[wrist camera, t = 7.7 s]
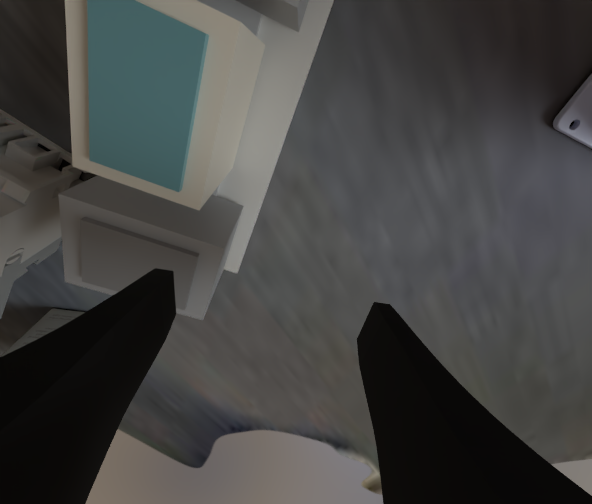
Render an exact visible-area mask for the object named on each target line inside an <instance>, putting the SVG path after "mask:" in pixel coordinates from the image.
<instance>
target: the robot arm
mask: <svg viewBox="0 0 592 504" xmlns="http://www.w3.org/2000/svg"><path fill="white" fill-rule="evenodd" d="M573 121H574V124H573V126H571V127H570V128H569V126H570V124H571V123H572V122H573ZM553 127H554V128H555V129H556V130H558V131H559V132H561V133H563V134H565V135H567V136H569V137H571V138H572V139H574V140H576V141H578V142H580V143H582V144H584V145H586V146H587V147H589V148H591V149H592V73H591V75H590V76H589V77H588V78H587V80H586V81H585V82H584V83H583V84H582V86H581V87H580V88H579V89H578V90H577V92H576V93H575V94H574V95H573V97H572V98H571V99H570V100H569V101H568V103H567V104H566V105H565V106H564V108H563V109H562V110H561V111H560V112H559V114H558V115H557V116H556V117H555V119H554V121H553ZM175 315H176V302H175V287H174V272H173V271H171V270H164V269H158V268H155V269H153V270H152V271H150V272H148V273H147V274H145V275H144V276H142V277H141V278H139V279H138V280H136V281H135V282H133V283H132V284H130V285H128V286H127V287H125V288H124V289H122V290H121V291H119V292H118V293H116V294H115V295H113V296H111V297H110V298H108V299H107V300H105V301H103V302H102V303H100V304H99V305H97V306H95V307H94V308H92V309H90V310H89V311H87V312H85V313H83V314H82V315H80V316H78V317H77V318H75V319H73V320H71V321H70V322H68V323H66V324H64V325H63V326H61V327H59V328H57V329H56V330H54V331H52V332H50V333H48V334H46V335H44V336H42V337H40V338H39V339H37V340H35V341H33V342H31V343H29V344H27V345H25V346H23V347H21V348H19V349H17V350H15V351H13V352H10V353H8V354H6V355H4V356H2V357H0V504H85V503H86V500H87V498H88V495H89V493H90V490H91V488H92V486H93V484H94V481H95V479H96V477H97V474H98V472H99V470H100V467H101V465H102V462H103V460H104V458H105V456H106V453H107V451H108V449H109V447H110V444H111V442H112V440H113V438H114V435H115V433H116V431H117V429H118V427H119V424H120V422H121V420H122V418H123V416H124V414H125V412H126V410H127V408H128V406H129V404H130V402H131V401H132V399H133V397H134V395H135V393H136V392H137V390H138V388H139V386H140V385H141V383H142V381H143V379H144V377H145V376H146V374H147V372H148V370H149V369H150V367H151V365H152V363H153V362H154V360H155V358H156V356H157V354H158V353H159V351H160V349H161V347H162V345H163V343H164V342H165V340H166V337H167V335H168V333H169V330H170V328H171V325H172V323H173V320H174V318H175ZM357 344H358V356H359V366H360V371H361V375H362V380H363V385H364V389H365V394H366V398H367V403H368V407H369V412H370V416H371V420H372V425H373V429H374V435H375V440H376V446H377V453H378V461H379V468H380V476H381V485H382V494H383V503H384V504H592V496H591V495H590V494H588V493H587V492H586V491H584V490H583V489H582V488H581V487H579V486H578V485H576V484H575V483H574V482H573V481H571V480H570V479H569V478H567V477H566V476H565V475H564V474H562V473H561V472H560V471H558V470H557V469H556V468H555V467H553V466H552V465H551V464H550V463H548V462H547V461H546V460H545V459H543V458H542V457H541V456H540V455H538V454H537V453H536V452H535V451H534V450H532V449H531V448H530V447H529V446H528V445H526V444H525V443H524V442H523V441H522V440H521V439H519V438H518V437H517V436H516V435H515V434H513V433H512V432H511V431H510V430H509V429H508V428H506V427H505V426H504V425H503V424H502V423H501V422H500V421H499V420H497V419H496V418H495V417H494V416H493V415H492V414H491V413H490V412H489V411H488V410H487V409H486V408H485V407H483V406H482V405H481V404H480V403H479V402H478V401H477V400H476V399H475V398H474V397H473V396H472V395H471V394H470V393H469V392H468V391H467V390H466V389H465V388H464V387H463V386H462V385H461V384H460V383H459V382H458V381H457V380H456V379H455V378H454V377H453V376H452V375H451V374H450V373H449V372H448V371H447V370H446V368H445V367H444V366H443V365H442V364H441V363H440V362H439V361H438V360H437V359H436V358H435V356H434V355H433V354H432V353H431V352H430V351H429V350H428V348H427V347H426V346H425V345H424V344H423V343H422V341H421V340H420V339H419V338H418V337H417V336H416V334H415V333H414V332H413V331H412V330H411V328H410V327H409V326H408V325H407V324H406V322H405V321H404V320H403V319H402V318H401V317H400V315H399V314H398V313H397V312H396V311H395V310H394V308H393V307H392V306H391V305H390V304H384V303H377V302H374V303H373V305H372V308H371V310H370V312H369V314H368V316H367V318H366V321H365V323H364V325H363V327H362V329H361V332H360V334H359V336H358V338H357Z"/></svg>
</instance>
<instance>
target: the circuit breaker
mask: <svg viewBox="0 0 592 504" xmlns="http://www.w3.org/2000/svg"><path fill="white" fill-rule="evenodd" d="M8 125H9V126H8ZM26 136H27V137H26ZM38 143H40V144H42V145H43V146H45V147H46V148H48V149H50V150H51V151H49V152H47V151H45V150H43V149H42V148H40V147H39V146H38ZM63 159H64V160H66V161H67V162H69V163H70V164H71V165H69V166H66V167H64V168H63V169H62V172H61V171H59V167H60V165H61V163H62V160H63ZM82 171H83V172H84V173H88V172H87V171H84V170H81V169H78V168H75V167H73V166H72V154H71V153H69V152H68V151H66V150H65V149H63V148H61V147H60V146H58V145H57V144H55V143H53V142H52V141H50V140H49V139H47V138H46V137H44V136H42V135H41V134H39V133H38V132H36V131H35V130H33V129H31V128H30V127H28V126H27V125H25V124H23V123H22V122H20V121H19V120H17V119H16V118H14V117H12V116H11V115H9V114H8V113H6V112H5V111H3V110H1V109H0V319H1V317H2V314H3V311H4V308H5V306H6V303H7V300H8V297H9V294H10V291H11V288H12V285H13V282H14V281H15V280H16V279H18V278H19V277H21V276H22V275H23V274H25V273H26V272H27V271H28V270H27V269H26V267H28V266H29V265H31V264H32V263H33V264H35V265H37V264H39V263H40V262H42V261H43V260H44V259H46V258H47V257H49V256H50V255H52V254H53V253H54V252H56V251H57V250H58V248H59V245H60V243H61V240H62V235H61V221H60V208H59V193H61V192H63V191H66V190H68V189H70V188H72V187H74V186H76V185H78V184H80V183H82V182H83V181H82V180H80V179H79V177H80V175H81V172H82Z"/></svg>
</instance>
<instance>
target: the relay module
mask: <svg viewBox="0 0 592 504" xmlns="http://www.w3.org/2000/svg"><path fill="white" fill-rule="evenodd" d="M65 15H66V37H67V58H68V80H69V101H70V123H71V144H72V166H73V167H75V168H78V169H81V170H84V171H87V172H90V173H93V174H96V175H98V176H101V177H104V178H107V179H110V180H113V181H116V182H119V183H121V184H124V185H127V186H130V187H133V188H136V189H139V190H142V191H144V192H147V193H150V194H153V195H156V196H159V197H162V198H164V199H167V200H170V201H173V202H176V203H179V204H182V205H185V206H187V207H190V208H193V209H196V210H200V209H201V208H202V206H203V205H204V204H205V203H206V201H207V200H208V199H209V197H210V196H211V195H212V194H213V192H214V191H215V190H216V188H217V187H218V186H219V185H220V183H221V182H222V181H223V179H224V178H225V177H226V176H227V174H228V173H229V172H230V170H231V169H232V168H233V164H234V161H235V157H236V153H237V149H238V146H239V142H240V138H241V134H242V131H243V127H244V123H245V119H246V116H247V112H248V108H249V104H250V101H251V97H252V93H253V89H254V86H255V82H256V78H257V74H258V71H259V67H260V63H261V60H262V56H263V52H264V48H265V44H264V43H263V42H262V41H261V40H260V39H258V38H257V37H256V36H255V35H254V34H253V33H252V32H251V31H250V30H249V29H248V28H247V27H246V26H245V25H244V24H243V23H241V22H240V21H238V20H236V19H234V18H232V17H230V16H228V15H226V14H224V13H222V12H220V11H217V10H215V9H213V8H211V7H209V6H207V5H205V4H203V3H201V2H199V1H197V0H65Z"/></svg>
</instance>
